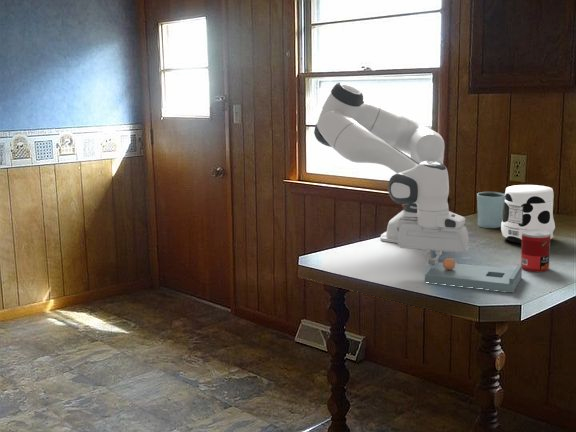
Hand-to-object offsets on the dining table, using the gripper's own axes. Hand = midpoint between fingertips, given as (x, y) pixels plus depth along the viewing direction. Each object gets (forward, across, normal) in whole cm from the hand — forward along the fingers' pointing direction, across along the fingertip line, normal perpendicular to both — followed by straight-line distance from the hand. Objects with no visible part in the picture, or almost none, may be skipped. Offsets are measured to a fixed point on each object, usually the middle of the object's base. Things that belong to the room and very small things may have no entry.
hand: (432, 264), depth 200 cm
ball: (-1, +5, 0) cm, 5 cm away
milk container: (+4, +19, +50) cm, 54 cm away
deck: (+4, +12, 0) cm, 12 cm away
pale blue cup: (+4, +2, +68) cm, 68 cm away
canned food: (+4, +26, +18) cm, 32 cm away
